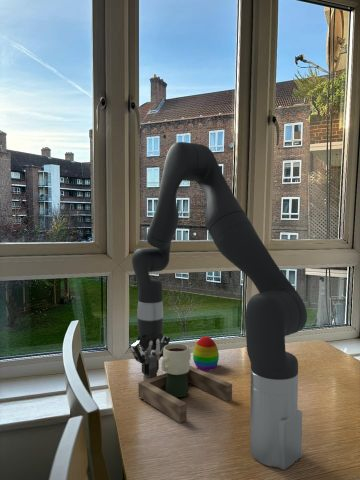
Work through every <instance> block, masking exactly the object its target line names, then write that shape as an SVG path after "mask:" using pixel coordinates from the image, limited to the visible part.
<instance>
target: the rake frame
mask: <svg viewBox="0 0 360 480" xmlns="http://www.w3.org/2000/svg"><path fill="white" fill-rule="evenodd" d="M157 373H158V372H157V357H156V356H154V355H152V353H151V355H150V356H149V375H148V376H146V375H144V374H143V377H142V378H143V379H142V381H139V382H138V383H137V384H138V385H137V386H138V387H137V389H138V398H139V397H141V398H142V399H144V400H145V401H147V402H148V403H147V402H146V403H147V404H149V403H150V404H151V405H150V404H149V405H150V406H152V405H153V406H154V408H155V407H156V408H155V409H157V408H158V409H159V411H160V412H162V413H163V414H165V415H167V416H168V417H169V418H171V419H173V420H175V421H176V422H177V423H179V424H181V423H183V422H186V421H187V412H188V411H187V403H186V402H184V401H182V400H180V399H179V398H178V397H174V396H172V395H170V394H168V393H166V392H165V388H166V379H167V374H168V373H167V372H165V373H162V374H160V375H158V374H157ZM185 374H186V377H187V384H188V383H189V384H190V385H193V386H195V387H196V388H199V389H201V390H203V391H204V392H206V393H210V394H212V395H213V396H215V397H217V398H219V399H221V400H224V401H225V402H228V401H231V400H233V383H231V382H228V381H227V380H224V379H222V378H219V377H217V376H214V374H213V375H212V374H210V373H208V372H206V371H204V370H200V369H198V368H197V367H194V366H193V365H190V368H189V371H188V372H187V373H185ZM144 379H145V380H144ZM141 398H140V399H141ZM142 399H141V400H142ZM144 400H143V401H144ZM145 401H144V402H145ZM153 406H152V407H153ZM158 409H157V410H158Z"/></svg>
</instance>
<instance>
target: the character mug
mask: <svg viewBox="0 0 360 480" xmlns="http://www.w3.org/2000/svg"><path fill="white" fill-rule="evenodd" d="M162 349H163V357H162V358H161V361H160V362H161V363H160V364H161V371H162V372H165V373H168V374H167V379H166V388H165V392H166V393H168V394H170V395H172V396H174V397H175V398H183V397H186V396H187V395H188V393H189V386H188V383H187V377H186V374H185V373H187V372H188V371H189V368H190V366H191V363H190V361H191V356H192V354H191V349H190V346H189V345H187V344H184V343H179V342H178V343H176V342H175V343H169V344H168V345H165V346H164V348H162Z"/></svg>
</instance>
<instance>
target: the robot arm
mask: <svg viewBox="0 0 360 480" xmlns="http://www.w3.org/2000/svg"><path fill="white" fill-rule="evenodd" d="M165 156H166V157H165V161H164V165H163V170H162V177H161V179H160V186H159V191H158V192H159V193H158V198H157V203H156V207H155V210H154V214H153V217H152V220H151V223H150V225H149V228H148V230H147V233H146V241H147V243H148V244H149V245H150V246H151V247H142V248H137V249H135V251H134V252H133V254H132V257H131V264H132V268H133V272H134V275H135V280H136V284H137V288H138V289H137V290H138V291H137V294H138V295H137V296H138V297H137V300H138V301H137V302H138V303H137V309H136V310H137V321H136V322H137V328H136V329H137V333H138V336H137V339H136V342H134V343H130V344H129V346H128V347H129V350H130V351H131V353H132V356H133V357H134V360H135V361H136V362H139V363H140V364H141V373H142V375H143V376H144V375H146V376H148V375H149V356H150V355H151V354H152V355H154V356H156V357H157V373H158V372H159V370H160V369H159V368H160V363H159V362H160V359H162V358H163V348H164V346H165V345H168V344H170V341H171V337H169V336H167V335H164V334H163V332H164V305H163V304H164V303H163V284H162V281H160V280H159V279H154V278H151V276H150V273H154V272H160V271H161V272H162V271H163V270H165V269H166V268H167V267H168V265H169V262H170V254H171V243H172V241H173V239H174V236H175V233H176V231H177V228H178V226H179V221H180V220H179V217H180V216H179V215H180V214H179V209H178V205H177V204H178V203H177V194H178V193H177V192H178V190H179V187H180V186H181V184H182V182H184V181H185V182H196V183H197V184H198V186H199V187H200V189H201V190H202V192H203V194H204V196H205V199H206V210H205V225H206V229H207V231H208V233H209V236H210V237H211V240H212V241H213V243H214V244H215V246H216V248H217V249H218V251H219V253H220V254H222V256H223V257H224V258H225V259H227V260H228V261H229V262H230V263H232V264H233V265H234V266H235V267H236V268H238V269H239V270H240V271H241V272H242V273H244V274H245V275H246V276H247V277H248V278H249V279H250V280H251V282H252V284H253V285H254V286H255V287H256V289H257V291H258V293H255V294H254V295H252V296H251V297H250V299H249V300H248V302H247V304H246V309H245V321H244V322H245V336H246V337H245V338H246V339H245V342H246V343H245V344H246V352H247V355H248V358H249V362H250V424H249V425H250V428H249V429H250V440H249V441H250V446H249V448H250V454H251V456H252V457H253V459H254V460H256V461H257V462H259V463H261V464H263V465H266V466H268V467H272V466H273V467H274V468H279V469H281V470H283V471H285V470H286V469H288V468H289V467H291V466H292V465H293V464H295V463H296V462H297V461H299V460H298V459H299V458H300V459H301V458H302V455H303V453H302V449H303V448H302V446H303V443H302V442H303V439H302V438H303V437H302V436H303V412H302V410H300V409H299V407H298V406H299V403H298V402H299V401H298V400H299V399H298V398H299V360H298V358H297V356H295V355H294V354H293V353H291V352H288V351H286V337H287V336H291V335H293V334H296V333H298V332H300V331H301V330H303V329H304V328H305V325H306V324H307V320H308V313H307V307H306V304H305V301H304V300H303V299H302V297H301V295H300V293H298V291H297V289H296V288H295V287H294V286H293V285H292V283H291V282H290V280H288V278H287V277H286V275H285V273H284V272H282V270H281V269H280V267H279V266H278V264H277V263H276V262H275V260H274V259H273V257H272V256H271V254H270V252H269V250H268V249H267V247H266V246H265V244H264V243H263V241H262V239H261V238H260V236H259V234H258V233H257V232H256V229H255V228H254V226H253V224H252V222H251V221H250V219H249V217H248V215H247V214H246V212H245V211H244V210H243V208H242V207H241V205H240V202H238V199H237V198H236V197H235V195H234V193H233V191H232V190H231V188H230V185H229V184H228V183H227V180H226V178H225V177H224V176H225V175H224V174H223V172H222V169H221V168H220V167H221V166H219V163H218V161H217V159H216V156H215V154H214V153H213V151H212V150H211V149H210V148H209V147H208V146H206V145H204V144H201V143H200V144H199V143H193V142H192V143H191V142H186V141H180V142H179V141H177V142H175V143H173V144H172V145H171V146H170V148H169V149H168V151H167V154H166V155H165ZM295 461H296V462H295ZM273 467H272V468H273Z"/></svg>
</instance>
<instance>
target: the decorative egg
mask: <svg viewBox="0 0 360 480" xmlns="http://www.w3.org/2000/svg"><path fill="white" fill-rule="evenodd" d="M219 353H220V352H219V349H218V346H217V344H216V342H215V340H214V339H212V338H211V337H210V336H205V335H204V336H203V337H201V338H200V339H198V341H197V342H196V344H195V345H194V348H193V351H192V359H193V363H194V365H195V368H196V369H199V370H201V371H203V372H206V371H207V372H208V371H212V370H214V369H215V368H216V367H217V365H218V363H219V359H220V356H219V355H220V354H219Z"/></svg>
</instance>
